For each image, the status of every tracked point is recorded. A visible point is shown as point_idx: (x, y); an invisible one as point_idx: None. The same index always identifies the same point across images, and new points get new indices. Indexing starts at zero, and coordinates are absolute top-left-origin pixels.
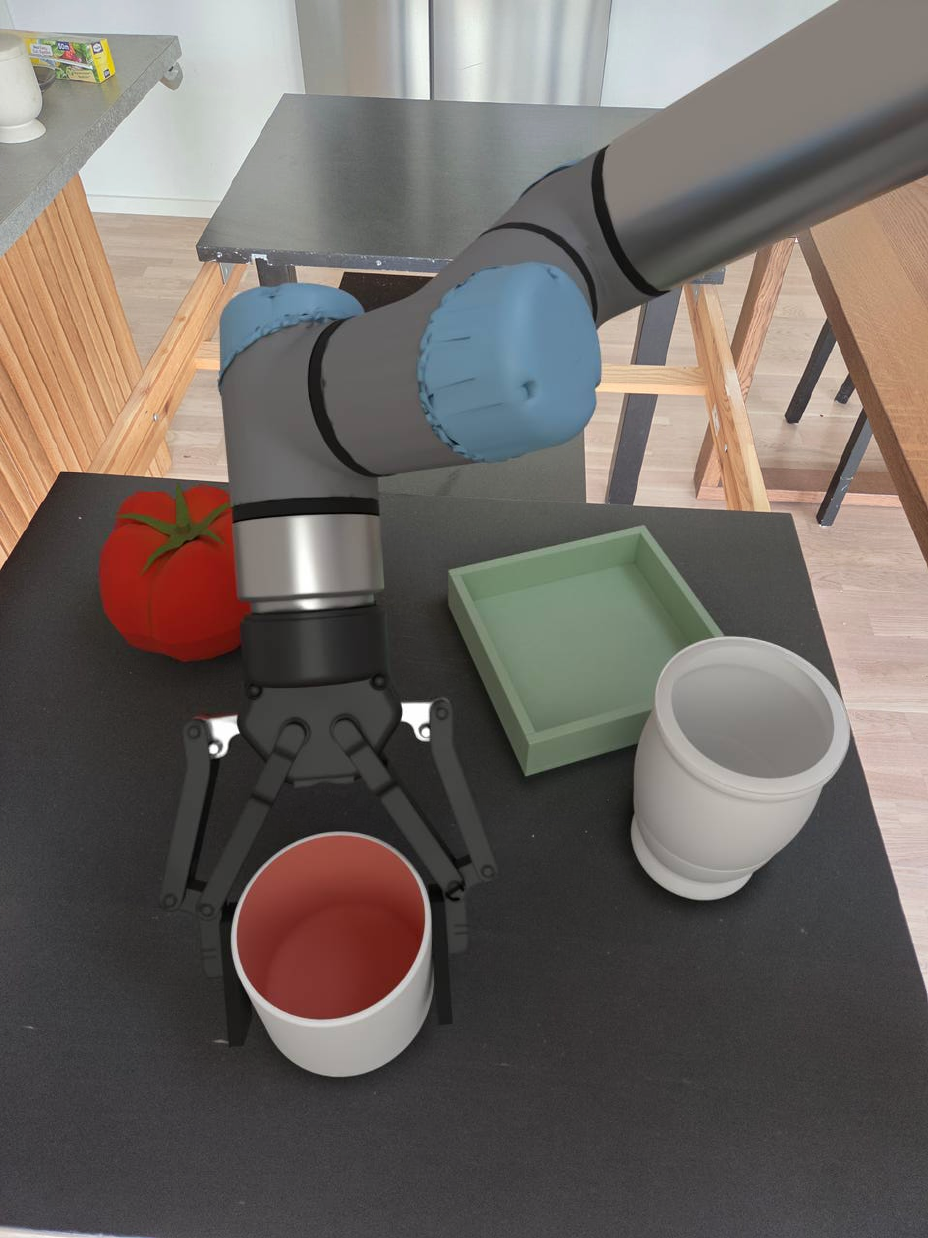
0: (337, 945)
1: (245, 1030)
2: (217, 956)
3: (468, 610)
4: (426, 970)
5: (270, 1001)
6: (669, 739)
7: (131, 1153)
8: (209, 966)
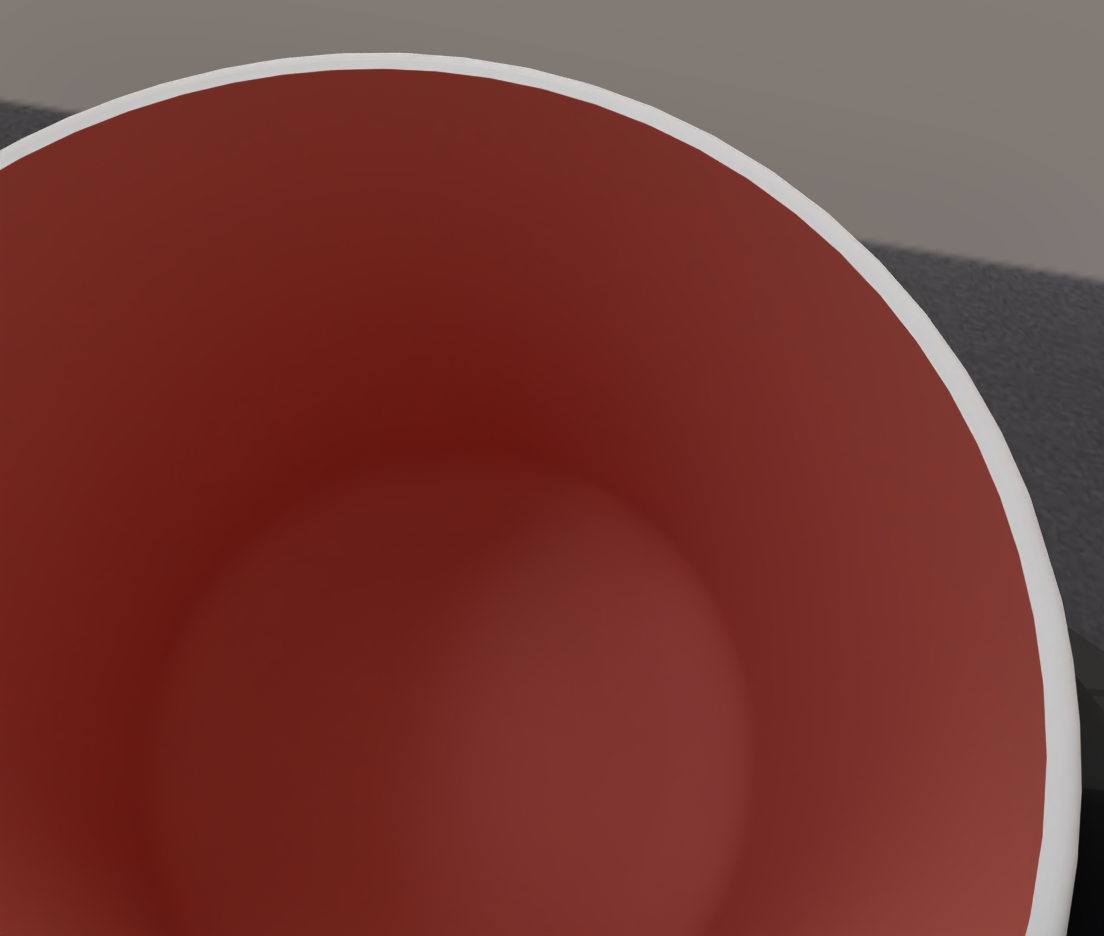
0: (480, 910)
1: None
2: None
3: None
4: None
5: (732, 727)
6: None
7: (1086, 414)
8: (1085, 663)
